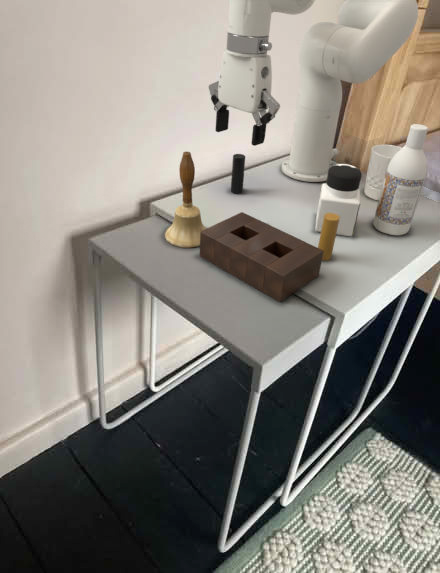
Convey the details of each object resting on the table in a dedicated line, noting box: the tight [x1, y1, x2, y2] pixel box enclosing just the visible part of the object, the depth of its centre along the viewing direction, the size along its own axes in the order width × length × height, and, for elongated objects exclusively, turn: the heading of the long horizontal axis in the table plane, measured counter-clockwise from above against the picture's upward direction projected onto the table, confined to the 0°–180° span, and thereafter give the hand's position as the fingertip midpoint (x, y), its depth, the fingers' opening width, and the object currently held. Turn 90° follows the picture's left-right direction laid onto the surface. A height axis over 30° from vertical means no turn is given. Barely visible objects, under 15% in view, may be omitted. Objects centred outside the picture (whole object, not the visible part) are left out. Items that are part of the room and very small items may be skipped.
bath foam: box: [372, 123, 429, 236], centre depth 92 cm, size 7×7×20 cm
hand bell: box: [164, 151, 207, 249], centre depth 87 cm, size 8×8×16 cm
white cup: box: [363, 144, 403, 201], centre depth 107 cm, size 8×8×10 cm
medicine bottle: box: [314, 163, 363, 237], centre depth 94 cm, size 7×7×12 cm
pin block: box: [199, 211, 324, 303], centre depth 83 cm, size 18×11×5 cm, turn 47°
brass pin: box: [317, 213, 340, 262], centre depth 86 cm, size 3×3×8 cm
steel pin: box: [230, 153, 246, 195], centre depth 105 cm, size 3×3×8 cm
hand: (239, 137), depth 100 cm, fingers open, 9 cm apart
